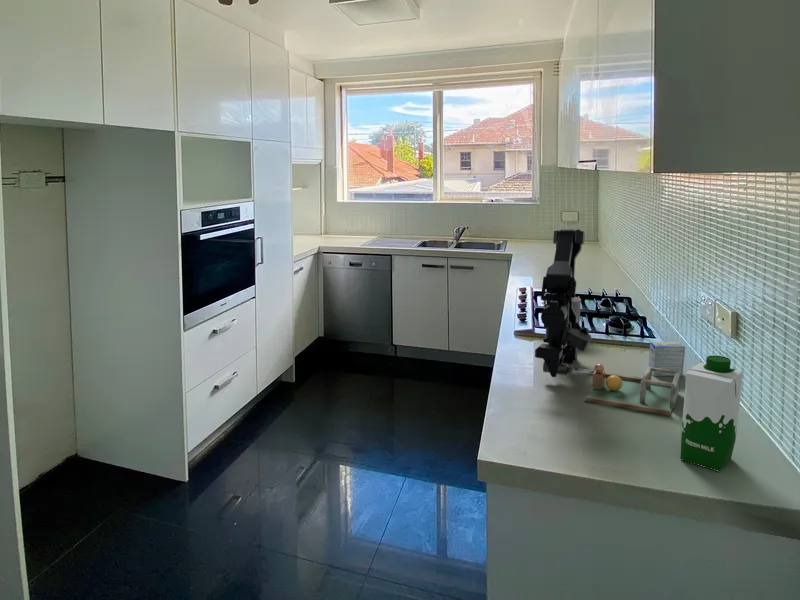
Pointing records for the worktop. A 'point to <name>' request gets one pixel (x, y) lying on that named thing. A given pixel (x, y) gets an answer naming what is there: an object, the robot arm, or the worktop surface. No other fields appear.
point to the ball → (614, 383)
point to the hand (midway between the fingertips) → (555, 375)
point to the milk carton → (710, 412)
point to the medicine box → (666, 357)
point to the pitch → (640, 393)
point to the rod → (583, 373)
